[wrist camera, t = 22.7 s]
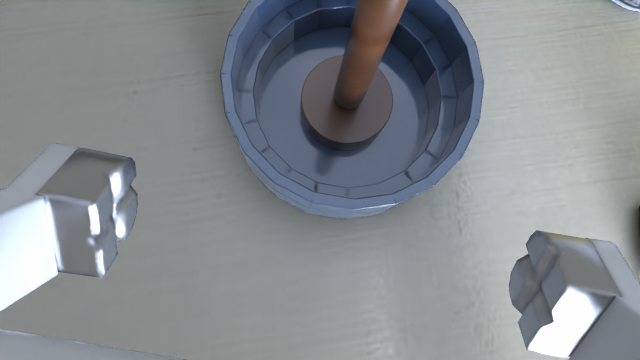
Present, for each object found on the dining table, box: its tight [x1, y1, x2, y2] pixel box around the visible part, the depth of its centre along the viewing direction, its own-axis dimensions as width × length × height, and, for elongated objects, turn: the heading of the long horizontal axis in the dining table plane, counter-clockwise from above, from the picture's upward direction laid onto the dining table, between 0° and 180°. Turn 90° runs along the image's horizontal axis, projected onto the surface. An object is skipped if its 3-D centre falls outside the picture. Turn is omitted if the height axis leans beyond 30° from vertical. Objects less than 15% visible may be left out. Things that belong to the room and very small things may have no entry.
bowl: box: [220, 0, 484, 219], centre depth 30 cm, size 14×14×6 cm
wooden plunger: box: [300, 0, 408, 151], centre depth 22 cm, size 6×6×21 cm
